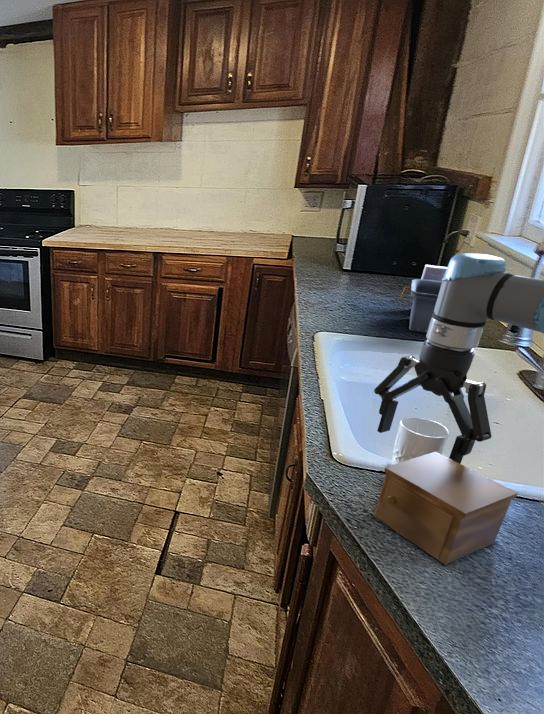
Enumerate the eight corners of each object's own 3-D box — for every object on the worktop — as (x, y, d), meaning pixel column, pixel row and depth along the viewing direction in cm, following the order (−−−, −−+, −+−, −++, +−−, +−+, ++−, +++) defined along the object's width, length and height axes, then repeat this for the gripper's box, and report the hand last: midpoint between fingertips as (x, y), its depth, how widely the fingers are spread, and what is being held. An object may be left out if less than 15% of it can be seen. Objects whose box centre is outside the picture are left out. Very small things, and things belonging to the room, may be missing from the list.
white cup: (400, 456, 107) (413, 413, 103) (442, 476, 101) (458, 430, 97) (378, 467, 103) (391, 423, 99) (421, 489, 97) (436, 442, 93)
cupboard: (497, 543, 84) (518, 492, 80) (441, 568, 79) (461, 515, 75) (420, 498, 94) (435, 451, 91) (366, 517, 89) (380, 468, 85)
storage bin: (447, 339, 173) (460, 296, 167) (393, 330, 180) (403, 289, 175) (445, 322, 189) (457, 283, 184) (395, 315, 197) (405, 277, 192)
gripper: (371, 324, 101) (346, 421, 109) (517, 375, 80) (472, 490, 88) (397, 319, 104) (371, 414, 112) (546, 367, 83) (499, 480, 91)
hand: (415, 448), depth 100 cm, fingers open, 13 cm apart
